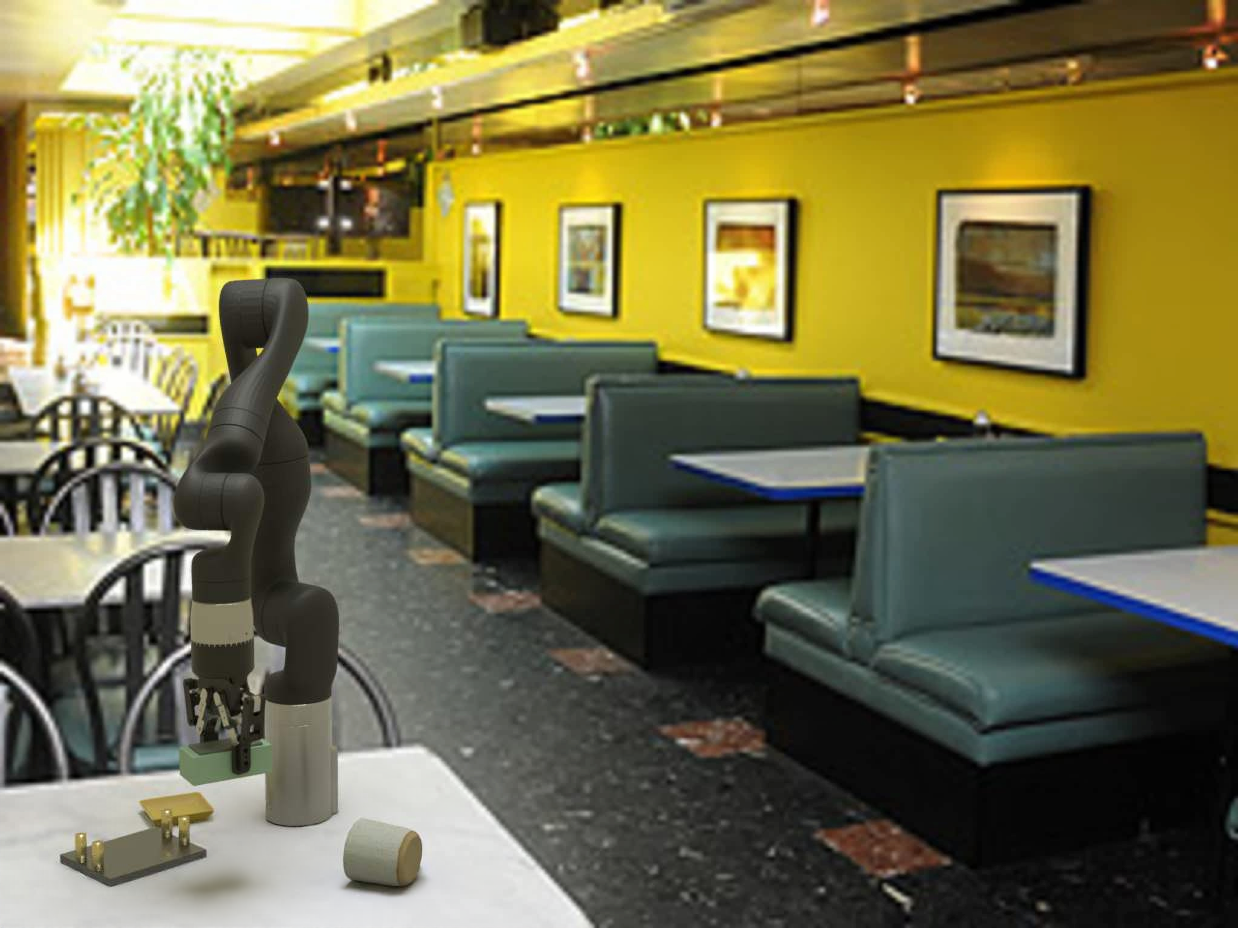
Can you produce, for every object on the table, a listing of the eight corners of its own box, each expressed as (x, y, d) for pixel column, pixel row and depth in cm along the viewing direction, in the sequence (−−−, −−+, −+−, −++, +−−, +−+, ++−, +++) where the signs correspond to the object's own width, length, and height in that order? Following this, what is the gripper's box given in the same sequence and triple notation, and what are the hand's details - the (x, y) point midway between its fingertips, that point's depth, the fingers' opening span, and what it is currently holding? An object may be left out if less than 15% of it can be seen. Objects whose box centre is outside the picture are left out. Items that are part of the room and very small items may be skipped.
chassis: (155, 833, 219) (154, 801, 218) (206, 856, 211) (206, 823, 210) (60, 861, 208) (59, 827, 208) (110, 886, 200) (109, 851, 200)
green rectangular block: (257, 761, 204) (256, 732, 204) (272, 771, 200) (271, 742, 200) (180, 774, 199) (179, 744, 198) (193, 786, 195) (193, 755, 194)
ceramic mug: (401, 896, 199) (402, 836, 198) (341, 888, 201) (341, 828, 200) (435, 867, 209) (435, 810, 208) (377, 859, 211) (377, 803, 210)
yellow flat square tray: (215, 823, 224) (215, 809, 224) (152, 833, 220) (151, 818, 220) (199, 805, 232) (199, 791, 231) (138, 814, 227) (138, 799, 227)
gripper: (284, 638, 195) (286, 772, 197) (213, 620, 205) (216, 748, 207) (232, 649, 190) (235, 787, 192) (162, 630, 199) (165, 762, 201)
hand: (225, 766), depth 199 cm, fingers closed on green rectangular block, 5 cm apart
